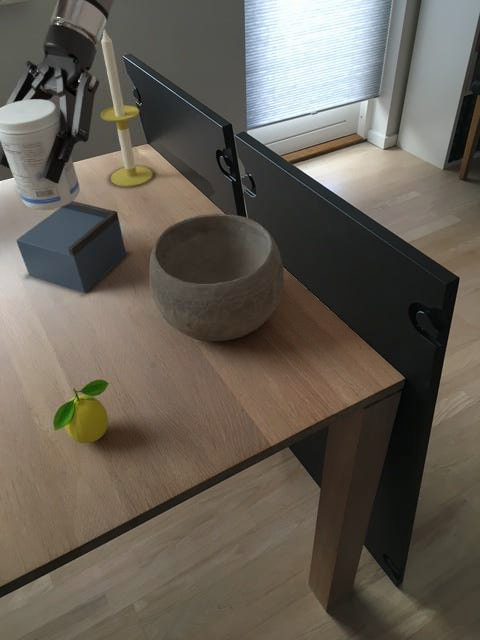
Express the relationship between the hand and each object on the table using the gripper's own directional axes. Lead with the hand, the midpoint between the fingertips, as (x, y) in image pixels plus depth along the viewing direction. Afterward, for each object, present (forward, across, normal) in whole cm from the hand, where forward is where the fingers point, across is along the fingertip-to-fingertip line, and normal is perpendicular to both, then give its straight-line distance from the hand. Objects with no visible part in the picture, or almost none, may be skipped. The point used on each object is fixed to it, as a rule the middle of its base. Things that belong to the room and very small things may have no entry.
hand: (27, 173), depth 84 cm
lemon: (+32, -29, +1) cm, 43 cm away
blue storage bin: (+11, +1, -19) cm, 22 cm away
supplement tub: (+2, 0, -6) cm, 7 cm away
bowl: (+12, -31, -19) cm, 38 cm away
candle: (-12, +15, -43) cm, 47 cm away
